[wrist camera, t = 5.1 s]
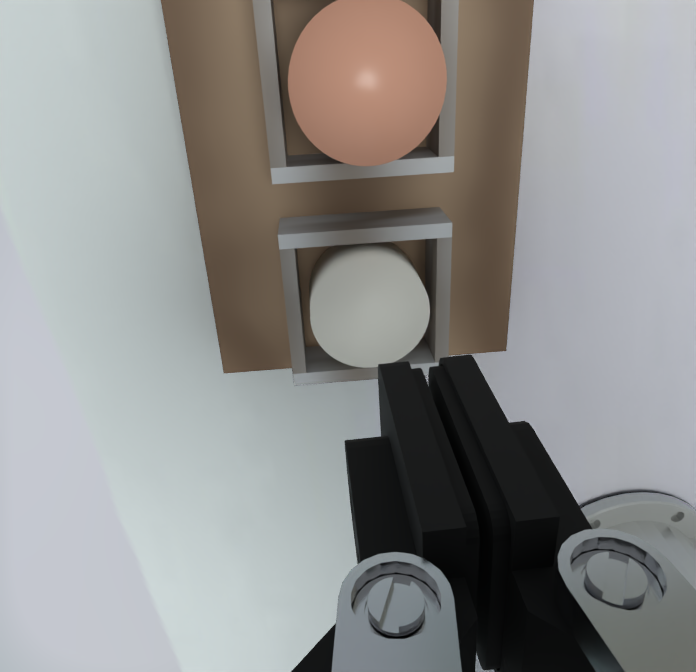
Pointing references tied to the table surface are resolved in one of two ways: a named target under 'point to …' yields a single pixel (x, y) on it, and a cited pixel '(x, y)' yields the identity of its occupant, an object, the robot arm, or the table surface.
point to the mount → (348, 181)
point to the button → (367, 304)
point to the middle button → (367, 80)
